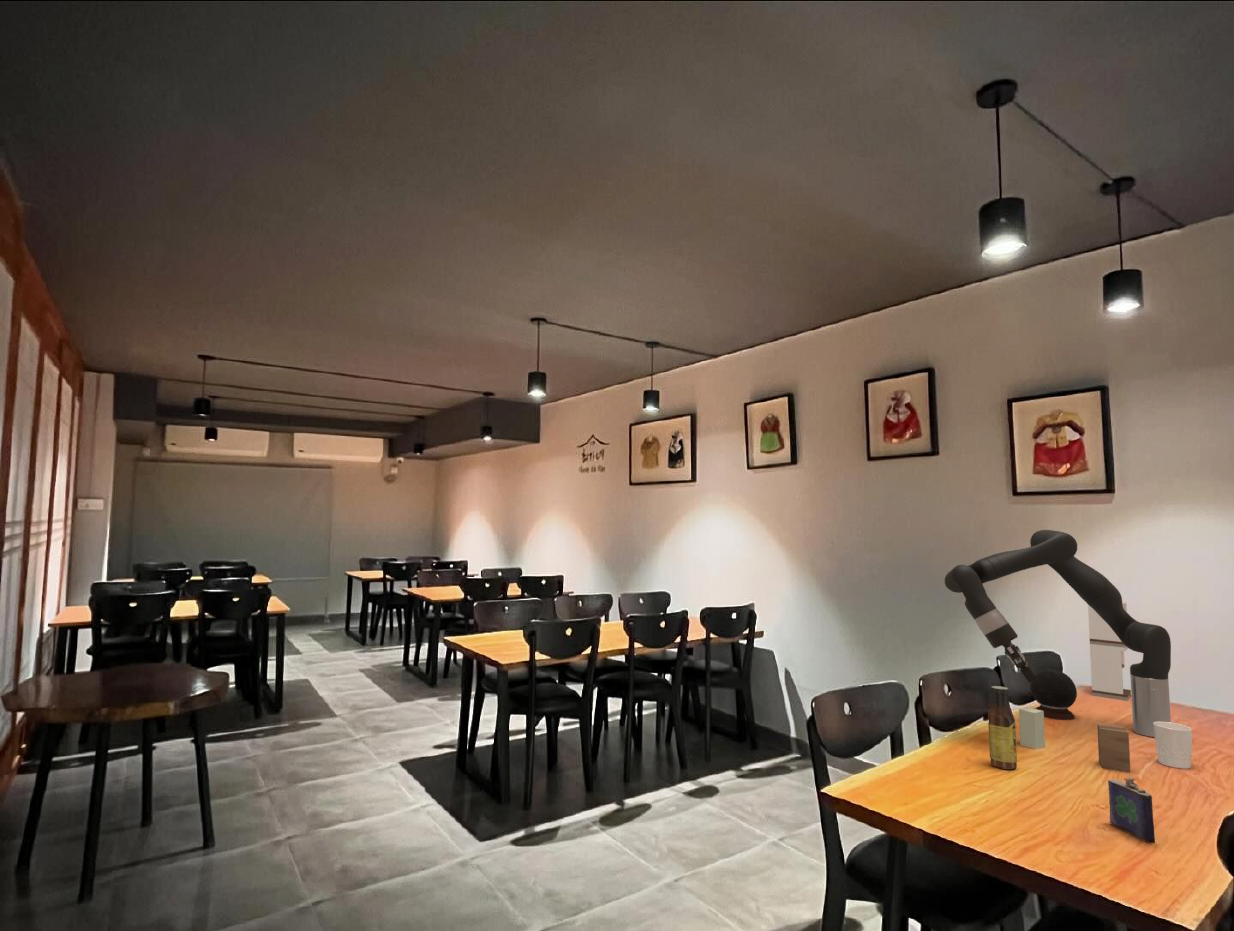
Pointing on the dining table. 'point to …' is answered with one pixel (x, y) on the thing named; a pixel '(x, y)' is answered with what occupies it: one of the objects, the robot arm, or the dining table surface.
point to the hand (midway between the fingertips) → (1033, 680)
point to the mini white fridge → (1106, 659)
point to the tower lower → (1114, 760)
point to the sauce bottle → (1002, 730)
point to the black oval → (1054, 694)
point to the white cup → (1173, 744)
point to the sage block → (1031, 728)
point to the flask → (1131, 809)
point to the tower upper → (1113, 737)
